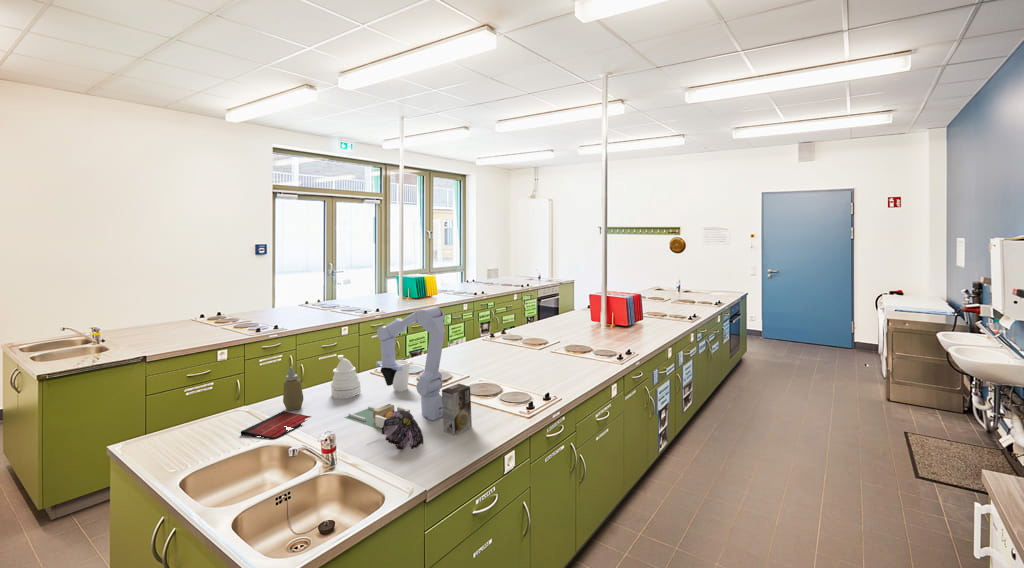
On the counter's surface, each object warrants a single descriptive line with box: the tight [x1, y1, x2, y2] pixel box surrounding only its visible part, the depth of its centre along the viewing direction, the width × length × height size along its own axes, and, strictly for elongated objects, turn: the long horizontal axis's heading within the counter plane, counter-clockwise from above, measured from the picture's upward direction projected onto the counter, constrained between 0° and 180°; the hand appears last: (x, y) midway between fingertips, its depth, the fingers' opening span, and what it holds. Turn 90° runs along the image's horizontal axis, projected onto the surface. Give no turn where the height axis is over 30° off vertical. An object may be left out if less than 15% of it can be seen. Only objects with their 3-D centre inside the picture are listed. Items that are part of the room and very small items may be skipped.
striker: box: [373, 403, 395, 423], centre depth 187 cm, size 3×8×5 cm, turn 144°
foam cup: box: [392, 359, 411, 392], centre depth 227 cm, size 10×9×13 cm
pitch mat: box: [343, 405, 382, 431], centre depth 189 cm, size 25×14×2 cm, turn 55°
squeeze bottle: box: [282, 366, 305, 411], centre depth 204 cm, size 8×8×18 cm
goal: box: [375, 406, 411, 428], centre depth 184 cm, size 6×12×4 cm, turn 145°
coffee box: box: [441, 383, 473, 436], centre depth 178 cm, size 9×6×16 cm
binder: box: [240, 411, 312, 440], centre depth 185 cm, size 16×2×21 cm
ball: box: [385, 412, 393, 418], centre depth 185 cm, size 4×4×4 cm
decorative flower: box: [381, 410, 424, 451], centre depth 167 cm, size 14×12×15 cm
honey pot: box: [330, 354, 362, 399], centre depth 222 cm, size 13×13×18 cm
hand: (389, 384), depth 204 cm, fingers closed
